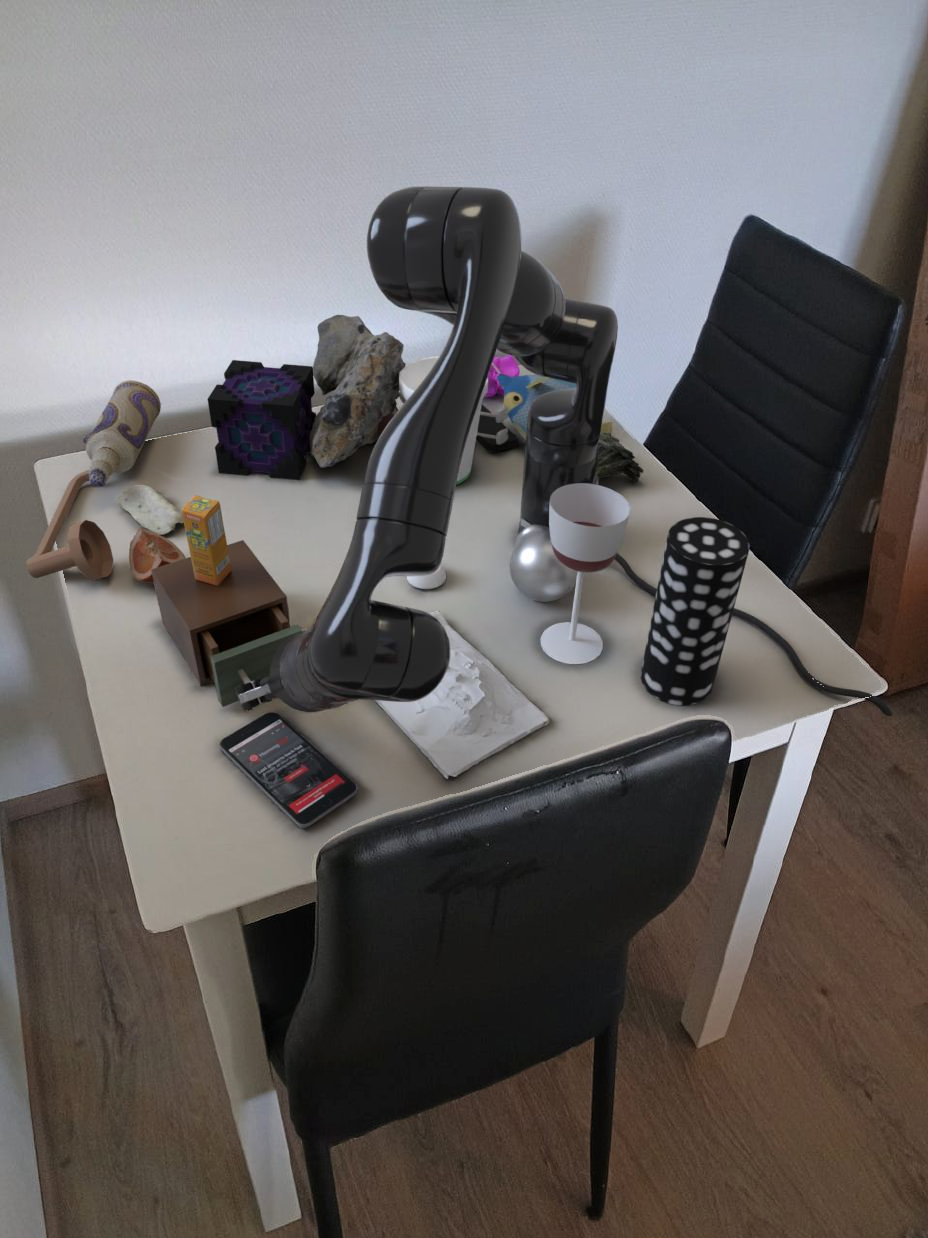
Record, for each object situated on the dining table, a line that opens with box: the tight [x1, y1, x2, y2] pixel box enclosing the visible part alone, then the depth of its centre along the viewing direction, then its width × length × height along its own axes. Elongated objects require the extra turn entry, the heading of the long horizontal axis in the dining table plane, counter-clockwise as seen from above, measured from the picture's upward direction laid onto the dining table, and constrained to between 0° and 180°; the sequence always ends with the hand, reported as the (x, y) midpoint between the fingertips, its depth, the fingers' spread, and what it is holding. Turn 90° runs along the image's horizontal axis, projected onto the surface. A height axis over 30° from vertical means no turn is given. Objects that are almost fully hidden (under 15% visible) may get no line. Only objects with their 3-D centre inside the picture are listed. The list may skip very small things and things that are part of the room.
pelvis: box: [484, 354, 521, 398], centre depth 165 cm, size 12×10×7 cm
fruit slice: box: [128, 526, 186, 584], centre depth 127 cm, size 8×7×5 cm
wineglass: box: [539, 483, 631, 665], centre depth 114 cm, size 8×9×20 cm
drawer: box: [197, 605, 304, 708], centre depth 112 cm, size 15×10×7 cm, turn 32°
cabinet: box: [151, 539, 291, 687], centre depth 117 cm, size 12×11×8 cm
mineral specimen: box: [595, 433, 644, 483], centre depth 147 cm, size 15×13×10 cm
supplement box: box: [180, 494, 232, 586], centre depth 112 cm, size 3×3×10 cm
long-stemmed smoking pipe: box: [26, 469, 114, 581], centre depth 133 cm, size 25×9×8 cm, turn 3°
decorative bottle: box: [82, 380, 162, 487], centre depth 146 cm, size 26×8×7 cm, turn 1°
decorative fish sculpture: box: [497, 373, 613, 441], centre depth 154 cm, size 12×20×15 cm
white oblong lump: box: [117, 484, 184, 536], centre depth 138 cm, size 12×5×4 cm
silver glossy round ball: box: [509, 525, 578, 602], centre depth 125 cm, size 9×10×10 cm
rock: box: [309, 314, 407, 468], centre depth 144 cm, size 25×21×15 cm
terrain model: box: [374, 610, 550, 780], centre depth 113 cm, size 17×23×5 cm
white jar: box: [406, 563, 447, 590], centre depth 128 cm, size 5×3×5 cm
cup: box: [399, 355, 488, 485], centre depth 144 cm, size 12×12×15 cm
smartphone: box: [219, 710, 358, 829], centre depth 104 cm, size 7×1×15 cm
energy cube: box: [207, 359, 317, 481], centre depth 147 cm, size 12×12×12 cm
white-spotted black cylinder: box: [640, 516, 751, 706], centre depth 110 cm, size 8×8×20 cm
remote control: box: [476, 403, 518, 453], centre depth 158 cm, size 5×2×15 cm
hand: (277, 683), depth 107 cm, fingers closed
